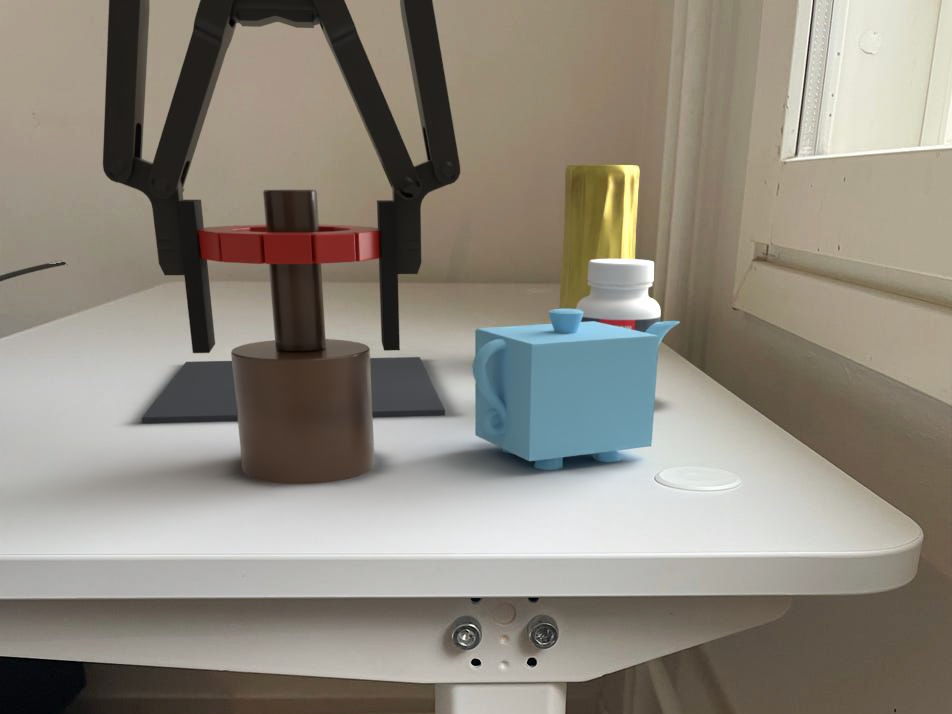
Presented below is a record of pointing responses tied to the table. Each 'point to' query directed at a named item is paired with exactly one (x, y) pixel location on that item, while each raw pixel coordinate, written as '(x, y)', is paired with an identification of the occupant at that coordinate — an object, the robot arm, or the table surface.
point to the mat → (213, 398)
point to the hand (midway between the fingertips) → (298, 346)
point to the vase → (596, 223)
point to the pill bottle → (620, 294)
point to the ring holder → (302, 375)
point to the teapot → (566, 388)
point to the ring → (289, 244)
